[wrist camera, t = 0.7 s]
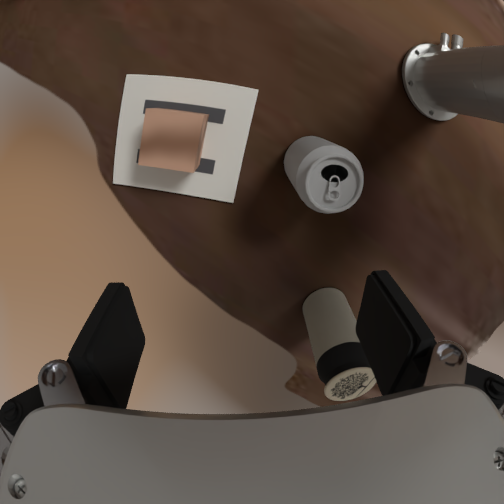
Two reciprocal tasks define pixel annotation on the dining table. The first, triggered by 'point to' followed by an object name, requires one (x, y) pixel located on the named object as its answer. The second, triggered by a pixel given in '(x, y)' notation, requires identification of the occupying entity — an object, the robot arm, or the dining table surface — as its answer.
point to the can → (324, 174)
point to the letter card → (215, 142)
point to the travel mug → (337, 345)
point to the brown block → (172, 139)
